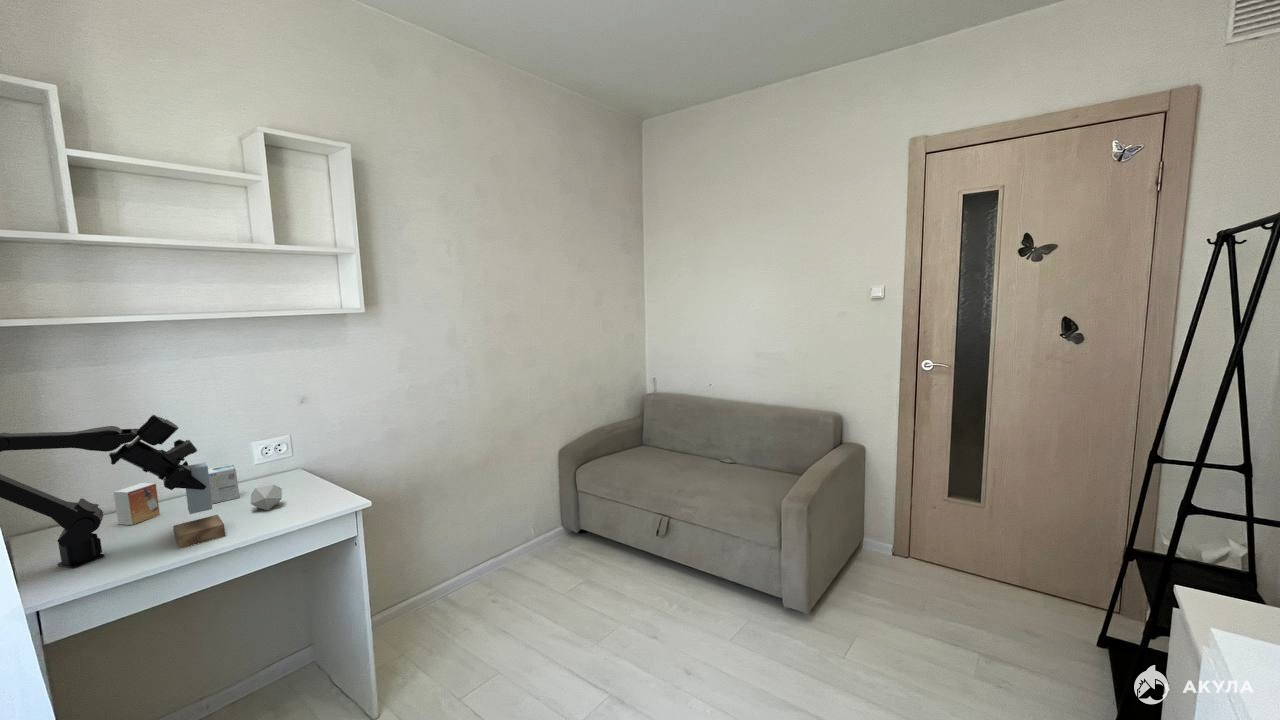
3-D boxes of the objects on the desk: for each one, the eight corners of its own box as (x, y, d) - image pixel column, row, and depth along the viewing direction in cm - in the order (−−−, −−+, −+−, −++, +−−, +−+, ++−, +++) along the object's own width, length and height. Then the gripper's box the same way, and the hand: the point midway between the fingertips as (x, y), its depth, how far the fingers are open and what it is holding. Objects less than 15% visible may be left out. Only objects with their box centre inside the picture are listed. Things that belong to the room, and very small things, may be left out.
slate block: (189, 514, 149) (184, 470, 147) (188, 509, 152) (183, 466, 151) (212, 509, 152) (207, 465, 151) (210, 504, 156) (205, 462, 154)
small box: (132, 525, 157) (126, 492, 156) (117, 524, 159) (112, 491, 157) (161, 514, 165) (156, 483, 164) (147, 513, 166) (142, 482, 165)
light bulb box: (237, 492, 183) (233, 463, 182) (240, 497, 178) (236, 467, 177) (197, 501, 175) (193, 470, 174) (199, 507, 171) (195, 475, 169)
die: (289, 507, 171) (287, 479, 175) (268, 504, 163) (266, 475, 167) (266, 516, 171) (265, 488, 175) (244, 513, 163) (243, 484, 167)
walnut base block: (179, 550, 142) (177, 536, 142) (174, 539, 149) (173, 525, 148) (225, 537, 149) (224, 524, 149) (219, 527, 156) (217, 514, 156)
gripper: (175, 439, 140) (231, 469, 149) (169, 428, 153) (221, 456, 162) (139, 475, 135) (199, 503, 145) (136, 460, 148) (191, 487, 158)
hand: (203, 485), depth 152 cm, fingers closed on slate block, 5 cm apart
